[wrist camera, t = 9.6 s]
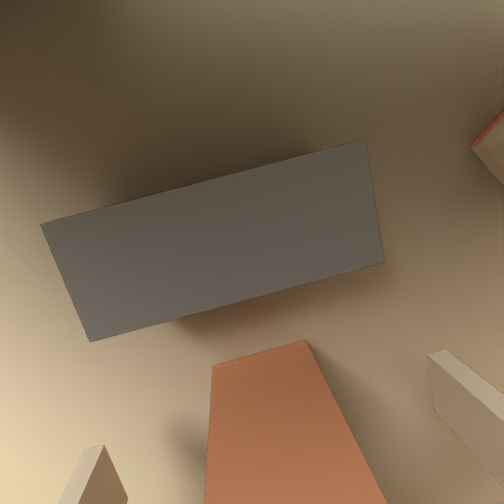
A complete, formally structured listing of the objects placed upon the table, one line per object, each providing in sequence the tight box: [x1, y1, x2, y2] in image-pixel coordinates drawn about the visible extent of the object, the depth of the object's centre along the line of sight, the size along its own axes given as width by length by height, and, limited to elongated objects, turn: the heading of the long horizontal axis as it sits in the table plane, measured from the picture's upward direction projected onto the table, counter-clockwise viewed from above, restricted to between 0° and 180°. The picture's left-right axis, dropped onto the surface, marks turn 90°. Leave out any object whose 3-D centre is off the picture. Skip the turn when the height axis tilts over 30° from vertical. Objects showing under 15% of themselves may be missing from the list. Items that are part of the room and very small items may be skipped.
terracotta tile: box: [204, 340, 388, 504], centre depth 11 cm, size 2×5×11 cm, turn 104°
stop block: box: [40, 139, 384, 342], centre depth 12 cm, size 4×10×5 cm, turn 104°
